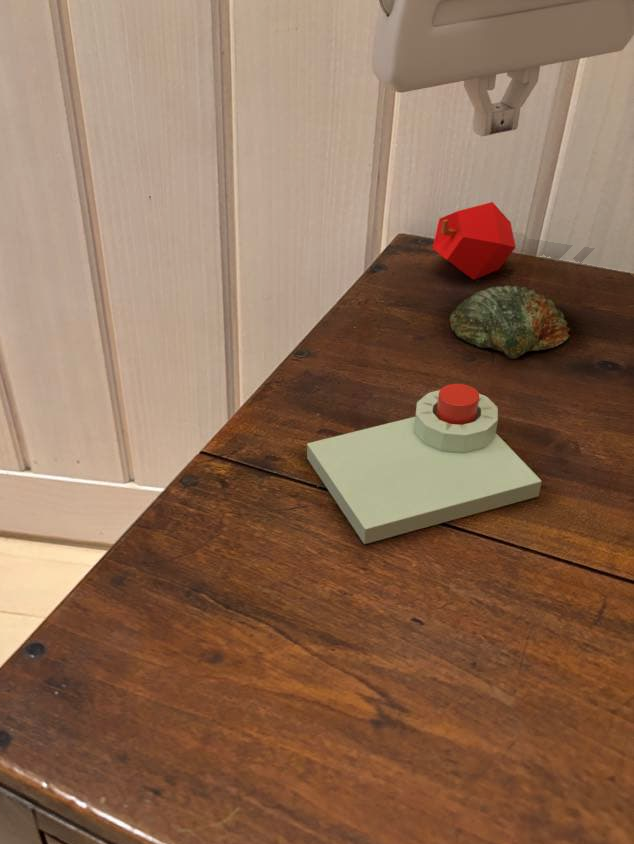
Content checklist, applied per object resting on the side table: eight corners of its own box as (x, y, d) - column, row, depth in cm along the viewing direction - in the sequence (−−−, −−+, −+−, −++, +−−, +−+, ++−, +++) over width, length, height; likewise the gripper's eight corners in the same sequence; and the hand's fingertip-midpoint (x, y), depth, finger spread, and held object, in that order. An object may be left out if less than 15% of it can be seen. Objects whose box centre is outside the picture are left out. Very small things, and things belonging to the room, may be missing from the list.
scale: (467, 415, 70) (472, 381, 68) (543, 495, 63) (551, 460, 61) (304, 455, 68) (304, 422, 66) (364, 545, 60) (366, 510, 58)
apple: (509, 192, 87) (442, 175, 84) (543, 233, 83) (474, 218, 80) (471, 254, 92) (406, 240, 88) (500, 296, 88) (433, 284, 84)
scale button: (464, 400, 67) (467, 379, 66) (483, 420, 65) (487, 400, 64) (429, 408, 67) (431, 388, 65) (448, 429, 65) (450, 409, 63)
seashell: (574, 259, 79) (577, 318, 72) (568, 303, 82) (571, 363, 74) (453, 261, 81) (445, 318, 74) (452, 303, 84) (444, 362, 77)
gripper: (403, -52, 58) (391, 170, 67) (678, -95, 62) (631, 120, 71) (360, -67, 62) (354, 142, 72) (619, -106, 66) (582, 97, 76)
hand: (494, 131), depth 71 cm, fingers closed
